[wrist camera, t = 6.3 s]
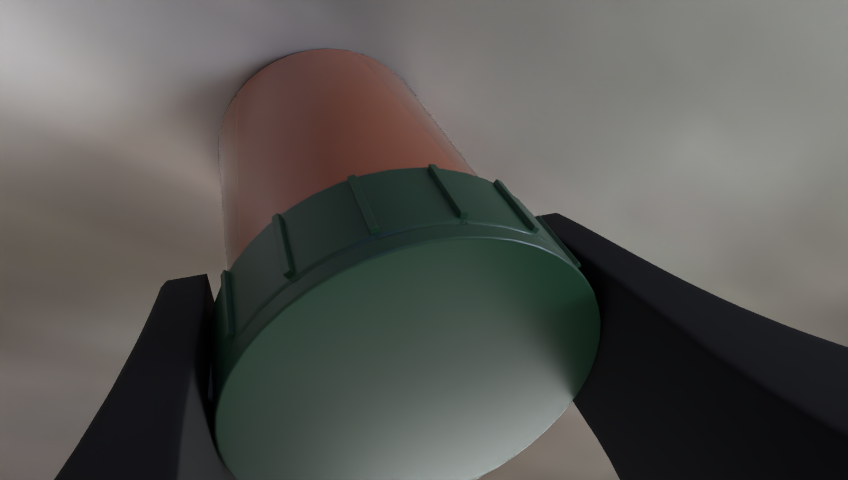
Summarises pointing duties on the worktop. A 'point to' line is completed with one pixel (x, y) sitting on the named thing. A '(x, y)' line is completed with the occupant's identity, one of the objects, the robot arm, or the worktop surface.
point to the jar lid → (397, 333)
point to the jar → (317, 136)
